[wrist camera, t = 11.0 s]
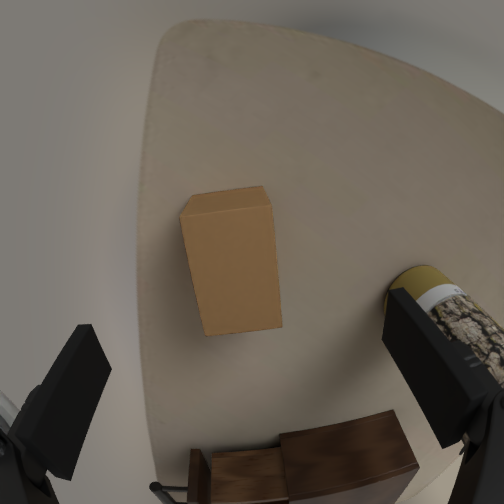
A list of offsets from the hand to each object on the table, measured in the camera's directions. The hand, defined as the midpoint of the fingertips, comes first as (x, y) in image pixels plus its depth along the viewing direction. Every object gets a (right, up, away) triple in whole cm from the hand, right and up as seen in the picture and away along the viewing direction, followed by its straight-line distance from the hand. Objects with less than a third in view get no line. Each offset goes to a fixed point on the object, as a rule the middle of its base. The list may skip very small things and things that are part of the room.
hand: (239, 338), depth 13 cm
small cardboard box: (-1, +4, +10) cm, 11 cm away
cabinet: (+12, -23, +22) cm, 34 cm away
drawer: (-2, -25, +21) cm, 33 cm away
